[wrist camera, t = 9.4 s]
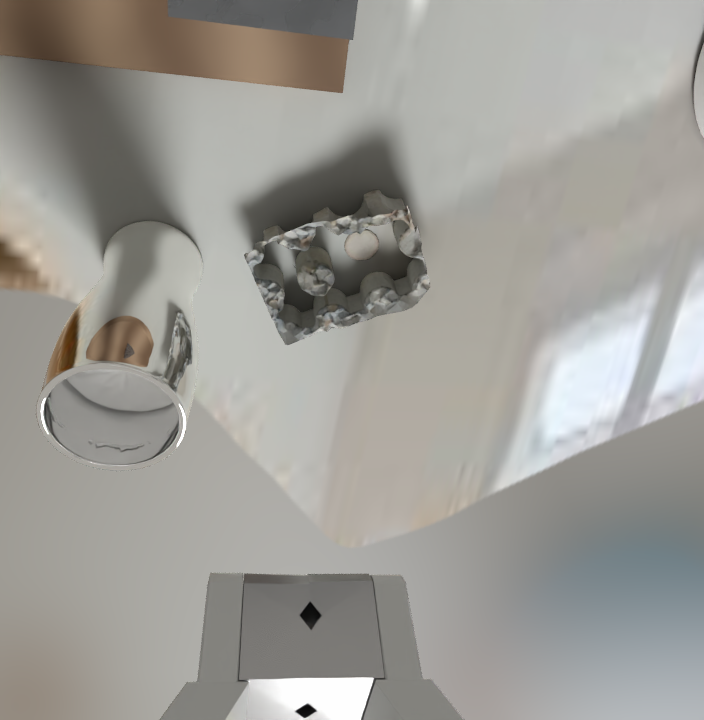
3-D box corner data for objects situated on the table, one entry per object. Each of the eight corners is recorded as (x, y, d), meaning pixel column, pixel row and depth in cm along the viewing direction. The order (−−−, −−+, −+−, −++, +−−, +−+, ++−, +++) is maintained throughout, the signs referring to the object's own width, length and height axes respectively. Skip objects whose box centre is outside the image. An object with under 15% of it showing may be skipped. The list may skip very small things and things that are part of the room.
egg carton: (403, 176, 40) (416, 202, 37) (425, 277, 45) (439, 308, 41) (240, 225, 41) (238, 256, 38) (278, 320, 45) (280, 354, 42)
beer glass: (117, 194, 38) (53, 338, 26) (227, 241, 41) (214, 391, 29) (83, 286, 42) (13, 451, 30) (187, 324, 44) (161, 489, 32)
